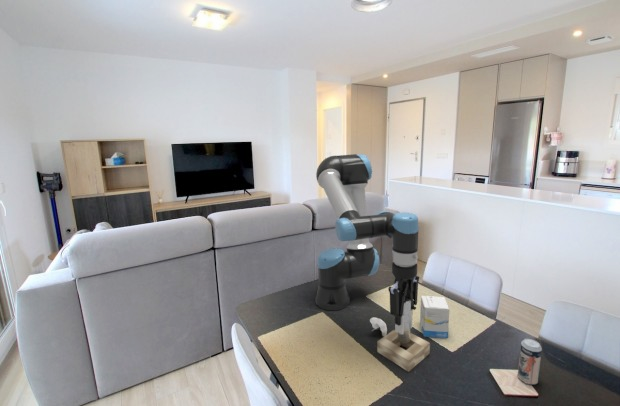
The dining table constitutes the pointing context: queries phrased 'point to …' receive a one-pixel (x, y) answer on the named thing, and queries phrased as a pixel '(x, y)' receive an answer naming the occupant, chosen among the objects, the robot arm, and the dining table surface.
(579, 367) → the dining table surface
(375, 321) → the white coral lump
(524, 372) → the beer can
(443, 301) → the ink box
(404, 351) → the socket block
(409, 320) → the peg
